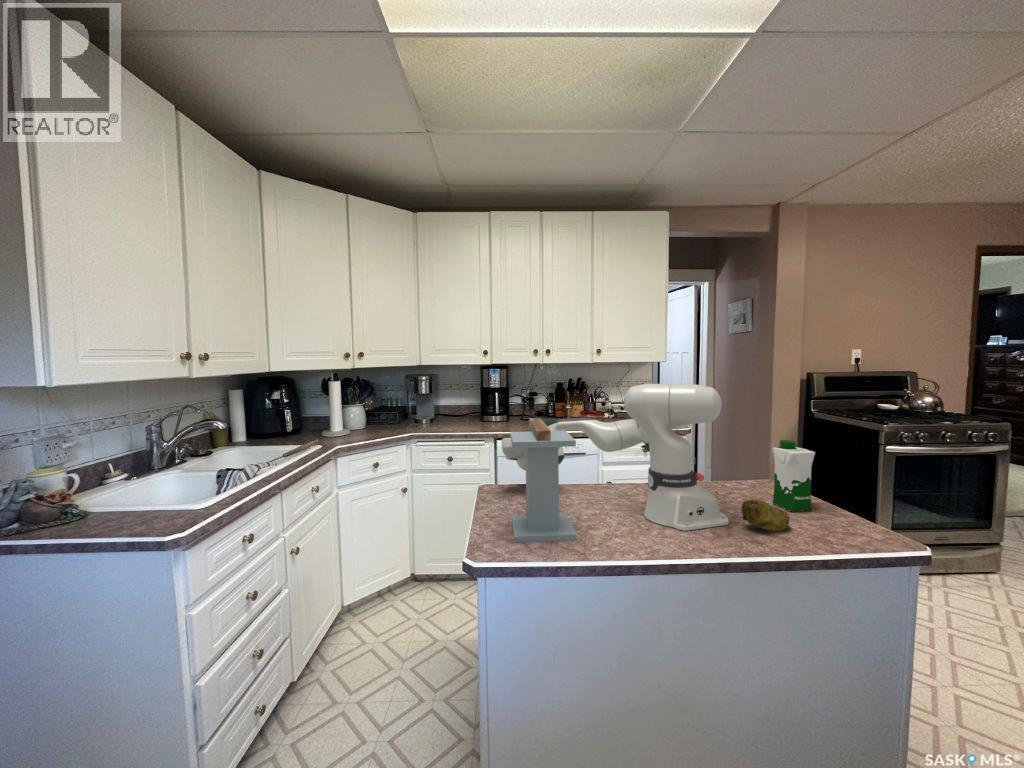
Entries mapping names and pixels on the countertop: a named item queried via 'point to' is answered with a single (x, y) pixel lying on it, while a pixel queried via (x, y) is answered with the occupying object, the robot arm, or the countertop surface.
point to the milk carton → (792, 476)
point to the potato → (764, 515)
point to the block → (539, 429)
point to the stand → (542, 490)
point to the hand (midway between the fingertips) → (532, 437)
